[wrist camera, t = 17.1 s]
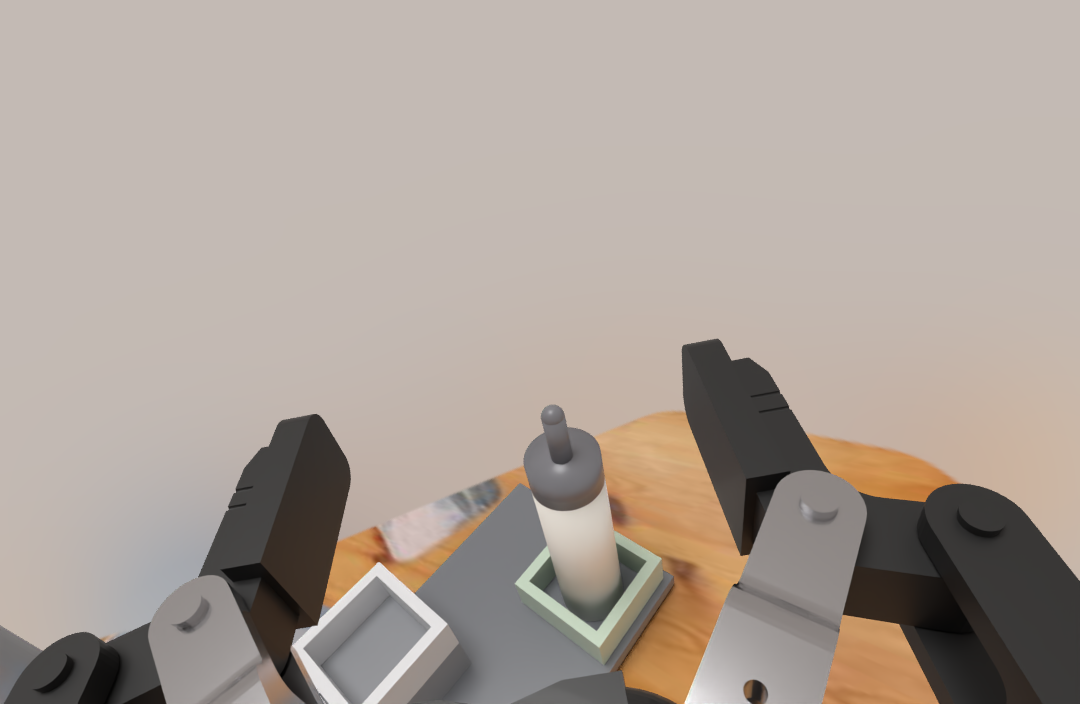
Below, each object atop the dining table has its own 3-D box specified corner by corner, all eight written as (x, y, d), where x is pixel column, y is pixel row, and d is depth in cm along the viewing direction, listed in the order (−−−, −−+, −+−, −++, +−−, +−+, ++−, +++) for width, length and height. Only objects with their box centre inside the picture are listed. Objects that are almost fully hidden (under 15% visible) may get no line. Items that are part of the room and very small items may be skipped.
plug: (599, 634, 37) (557, 452, 26) (550, 598, 39) (492, 419, 29) (635, 583, 39) (609, 396, 28) (586, 553, 42) (545, 371, 31)
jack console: (472, 887, 29) (435, 861, 25) (325, 699, 38) (279, 658, 34) (674, 583, 40) (670, 530, 36) (522, 490, 48) (505, 439, 44)
